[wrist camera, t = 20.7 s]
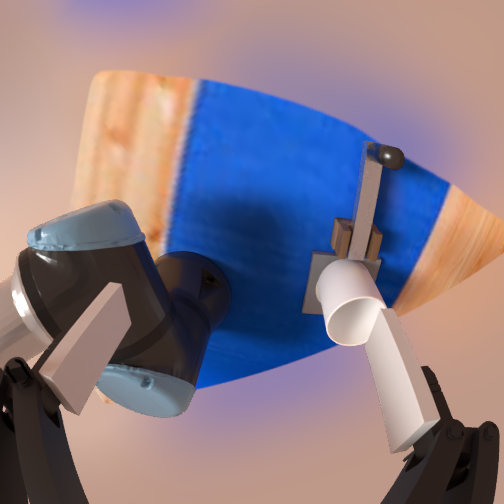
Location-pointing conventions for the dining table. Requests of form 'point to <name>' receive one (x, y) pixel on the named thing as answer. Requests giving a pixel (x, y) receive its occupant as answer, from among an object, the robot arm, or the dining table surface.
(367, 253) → the mount
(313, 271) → the dock pad
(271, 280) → the dining table surface
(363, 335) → the mug
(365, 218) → the crank handle
